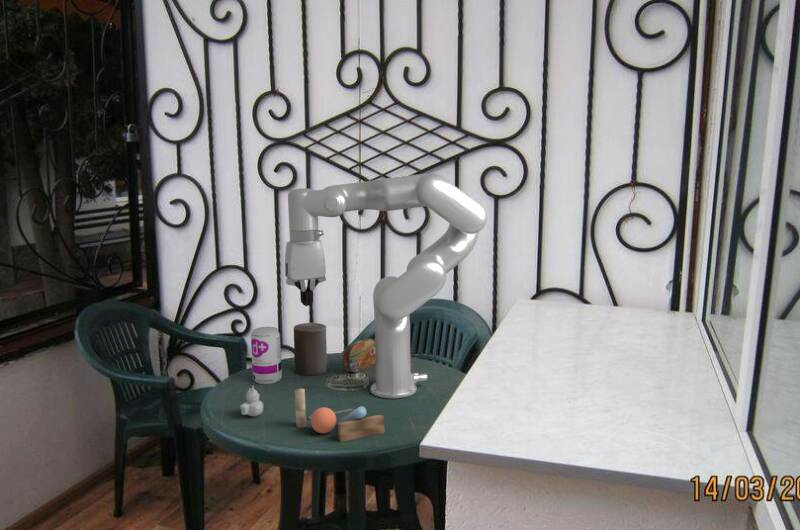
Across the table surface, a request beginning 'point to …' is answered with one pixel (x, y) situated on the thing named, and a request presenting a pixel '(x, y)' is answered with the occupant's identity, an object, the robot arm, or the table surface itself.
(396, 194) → the robot arm
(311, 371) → the pillar candle
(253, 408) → the white figurine
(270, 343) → the supplement can
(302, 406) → the birch pin
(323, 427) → the ball
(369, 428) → the back rail
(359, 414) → the pin
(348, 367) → the tin
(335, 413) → the lane line
